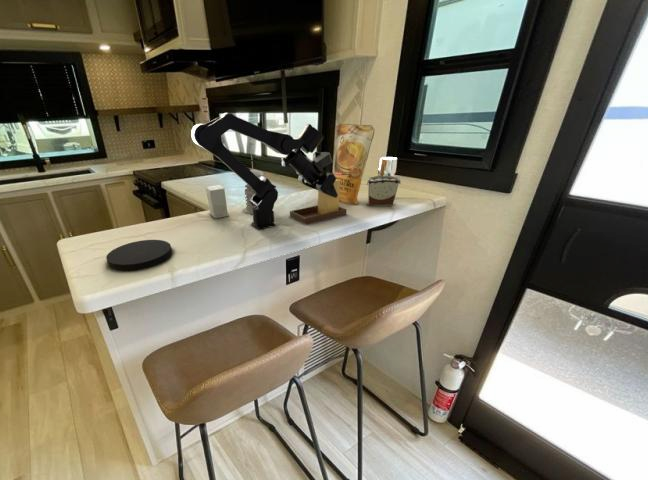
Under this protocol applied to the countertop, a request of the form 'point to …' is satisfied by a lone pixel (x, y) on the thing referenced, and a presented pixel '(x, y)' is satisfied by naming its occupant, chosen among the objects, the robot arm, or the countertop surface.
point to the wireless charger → (139, 255)
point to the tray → (314, 214)
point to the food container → (382, 190)
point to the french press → (248, 191)
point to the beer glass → (387, 166)
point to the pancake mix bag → (351, 158)
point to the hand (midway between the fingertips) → (330, 193)
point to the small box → (217, 201)
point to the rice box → (328, 200)
